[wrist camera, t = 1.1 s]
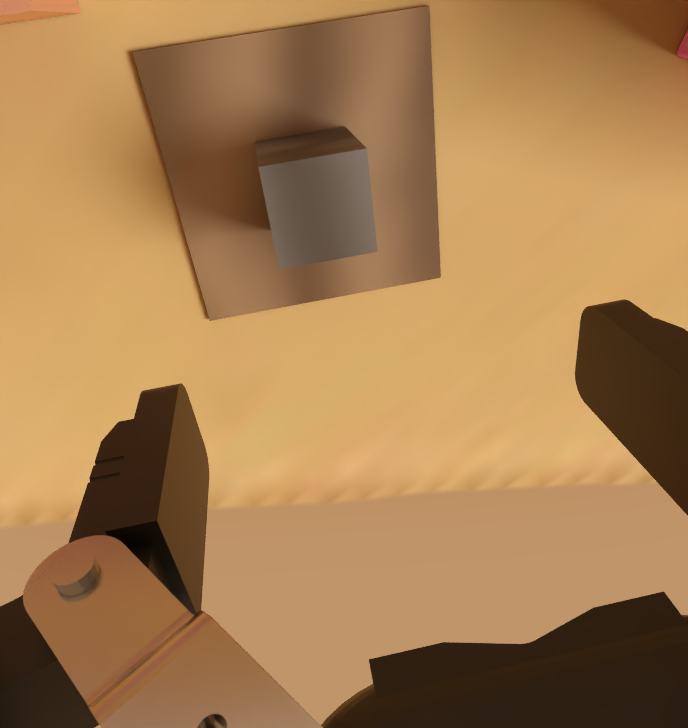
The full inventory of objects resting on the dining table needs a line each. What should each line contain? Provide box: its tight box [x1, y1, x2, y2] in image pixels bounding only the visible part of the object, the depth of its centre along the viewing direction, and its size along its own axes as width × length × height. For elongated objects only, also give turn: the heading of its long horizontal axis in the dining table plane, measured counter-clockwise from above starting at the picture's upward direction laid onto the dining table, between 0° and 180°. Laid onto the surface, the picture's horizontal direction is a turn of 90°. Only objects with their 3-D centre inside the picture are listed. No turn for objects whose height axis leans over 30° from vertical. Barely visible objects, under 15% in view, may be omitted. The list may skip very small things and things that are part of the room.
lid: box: [132, 6, 441, 321], centre depth 24 cm, size 12×12×6 cm
